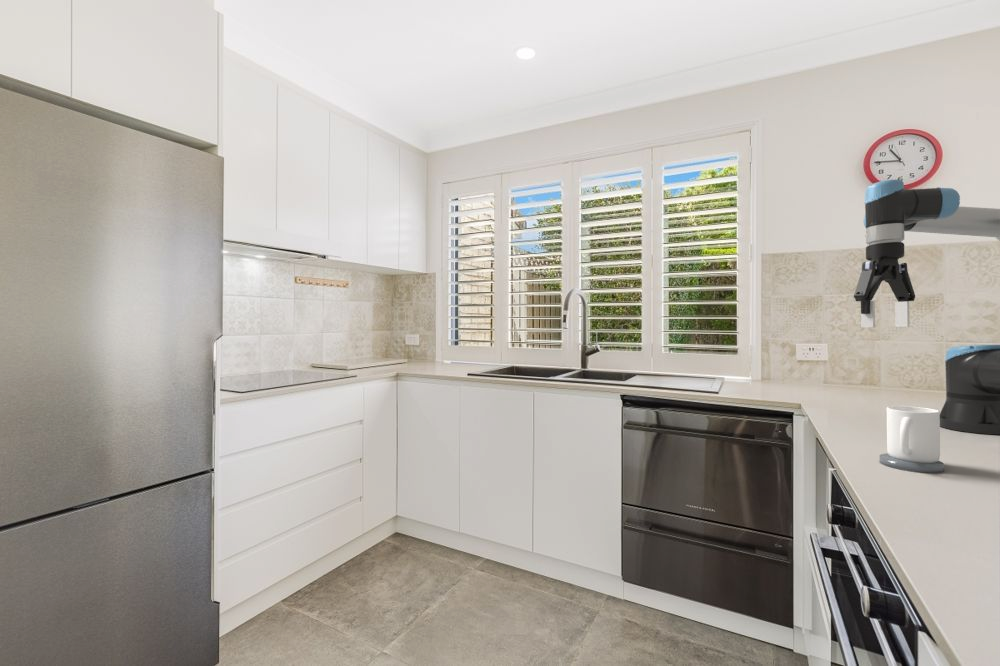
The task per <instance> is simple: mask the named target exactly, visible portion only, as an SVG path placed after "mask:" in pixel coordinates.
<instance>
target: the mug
mask: <svg viewBox="0 0 1000 666" xmlns="http://www.w3.org/2000/svg"><path fill="white" fill-rule="evenodd" d="M940 412H941V411H940V410H937V409H934V408H927V407H919V406H908V405H893V406H892V405H891V406H887V407H886V451H887V452H886V453H888V454H889V455H890V456H891V457H893V458H896V459H899V460H904V461H909V462H917V463H935V462H938V461H940V458H941V457H940V456H941V428H940Z"/></svg>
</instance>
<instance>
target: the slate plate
mask: <svg viewBox="0 0 1000 666" xmlns="http://www.w3.org/2000/svg"><path fill="white" fill-rule="evenodd" d="M879 464H881V465H883V466H886V467H889V468H893V469H897V470H901V471H906V470H907V471H908V472H913V471H916V472H915V473H922V472H928V473H927V474H936V473H938V472H939V473H943V472H944V471H945V464H944V462H943V461H940V460H939V461H938V462H935V463H917V462H909V461H904V460H899V459H896V458H893V457H891V456H890V455H889V454H888V452H886V453H881V454H879ZM907 471H906V472H907ZM932 472H933V473H932Z"/></svg>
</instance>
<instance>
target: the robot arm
mask: <svg viewBox="0 0 1000 666" xmlns="http://www.w3.org/2000/svg"><path fill="white" fill-rule="evenodd" d="M960 200H961V196H960V194H959V192H958V191H957V190H956V189H955V188H951V187H939V186H938V187H934V188H933V187H931V188H928V187H927V188H913V189H909V188H905V185H904V181H903V180H902V179H888V180H880V181H877V182H874V183H871V184H870V185H869V186H867V187H866V189H865V196H864V206H865V207H864V208H865V213H864V215H863V216H864V217H863V226H864V227H865V235H864V237H865V244H867V246H866V247H865V259H866V261H864V262H862V264H861V273H860V275H859V278H858V281H857V285H856V288H855V289H854V290H855V291H854V294H853V298H854V299H855V302H860V327H861V328H875V327H876V304H875V303H876V302H875V300H873V299H874V297H875V295H876V293H877V292H878V289H879V287H880V286H881V285H882V282H883V281H884V282H885V283H887V284H888V286H889V287H890V290H891V291H892V292H893V294H894V297H895V298H896V300H897V301H895V302H894V305H895V307H894V309H895V311H894V313H895V314H894V317H895V321H894V322H895V325H894V326H895V328H896V327H897V328H900V327H902V328H905V327H906V328H907V327H910V302H914V301H915V299H916V293H915V290H914V288H913V284H912V281H911V277H910V275H909V271H908V263H907V262H901V263H900V262H899V259H903V258H904V257H905V243H904V242H903V241H904V240H905V232H911V233H913V232H915V233H926V234H941V235H943V234H944V235H956V236H957V235H958V236H970V237H972V236H973V237H983V238H984V237H986V238H987V237H988V238H996V240H997V241H1000V208H994V207H992V208H991V207H990V208H989V207H975V206H974V207H973V206H961V205H960V203H961V201H960ZM945 353H946V354H945V360H944V363H945V365H944V366H945V389H946V390H945V391H946V392H945V394H946V397H945V401H944V403H943V406H942V408H941V410H940V411H939V412H940V427H941V428H944V429H948V430H954V431H958V432H959V431H960V432H966V433H974V434H984V435H985V434H986V435H1000V344H978V345H977V344H975V345H959V346H953V347H950V348H948V349H947V350H946V352H945Z"/></svg>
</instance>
